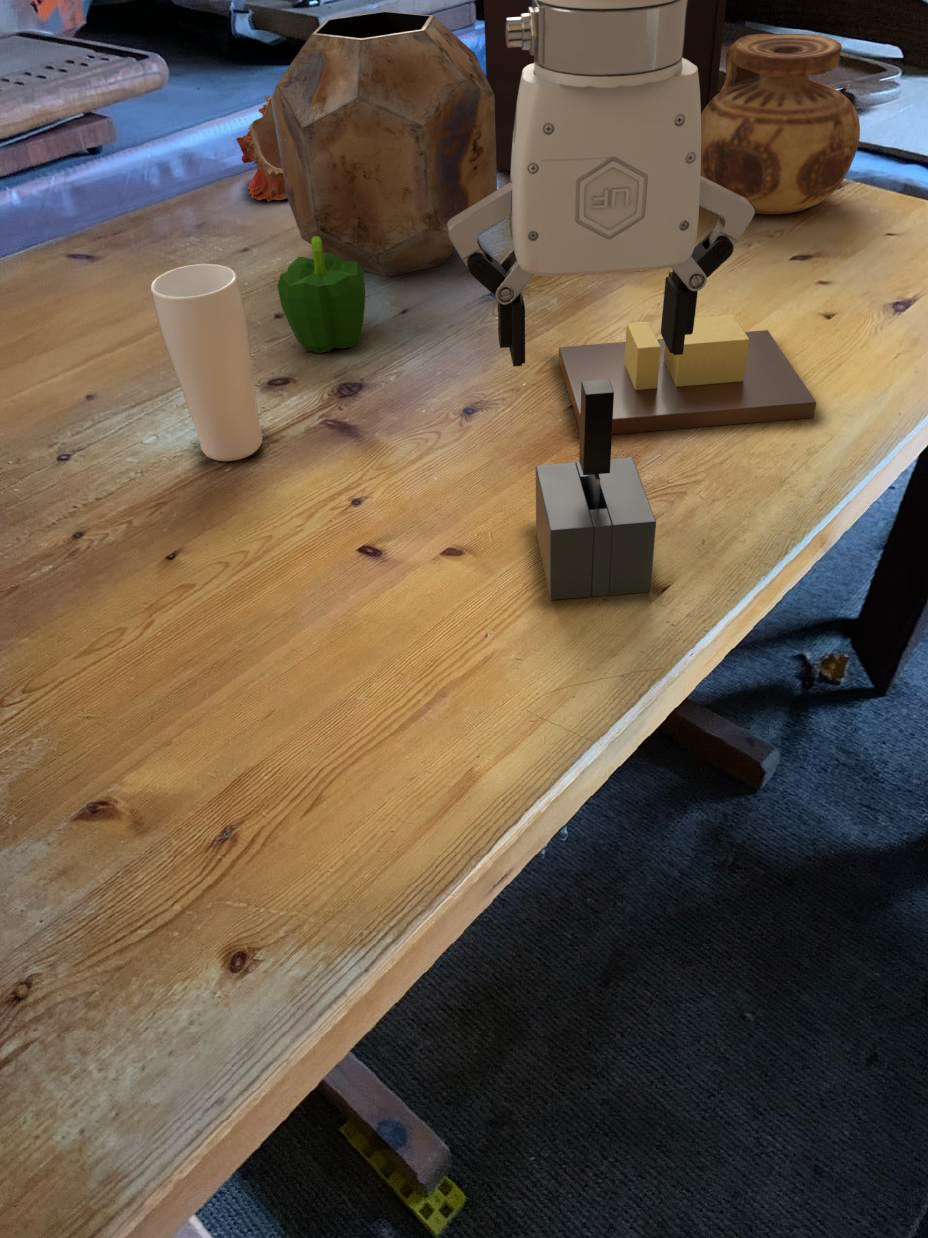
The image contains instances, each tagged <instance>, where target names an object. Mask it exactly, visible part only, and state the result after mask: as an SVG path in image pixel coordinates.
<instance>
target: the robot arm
mask: <svg viewBox="0 0 928 1238" xmlns="http://www.w3.org/2000/svg"><path fill="white" fill-rule="evenodd" d="M687 2H688V0H532V7H528V13H525V14H521V15H520V17H509V18H506V45H507V48H515V47H521V49H522V50H528V51H529V53H530V55H533V56H534V58H535V59H534V63H533V64H529V65H527V66H526V67H525V68H524V69H523V71H522V76H521V81H520V86H519V92H518V98H517V104H516V113H515V122H514V131H513V141H512V156H511V172H510V176H509V177H510V178H509V181H510V182H508V183H507V184H505V185H504V186H502V187H499V188H498V189H497V191H495V192H494V193H492V194H490V195H489V196H487V197H485V198H484V199H482V200H480V201H479V202H477V203H476V204H474V205H472V206H471V207H469V208H467V209H466V210H464V211H462V212H461V213H459V214H458V215H456V216H454V217H453V218H451V219H450V220H449V221H448V223H447V229H448V235H449V238H450V240H451V242H452V243H453V245H454V247H455V248H456V250H455V251H456V252H457V253H458V255H459V257H460V259H461V260H462V261H463V263H464V265H465V267H466V268H467V271H468V273H469V275H471V276H472V277H473V278H474V279H475V280H476V281H477V282H478V283H479V284H481V285H482V286H483V287H484V288H485V289H486V290H488V291H489V293H491V294H492V295H493V296H494V297H495V299H496V301H497V335H498V344H499V348H500V349H509V353H510V357H511V362H512V366H513V368H514V367H515V368H516V367H523V365H524V364H526V305H525V301H524V297H523V293H522V291H523V290H524V289H525V287H527V286H528V284H530V281H531V280H532V279H533V278H534V277H535V276H537V277H544V278H551V277H553V278H555V277H556V278H557V277H573V276H574V277H575V276H589V275H590V276H591V275H602V274H603V275H605V274H618V273H630V272H632V273H633V272H642V271H643V272H644V271H656V270H664V269H668V268H671V270H672V271H668V276H666V277H665V281H664V291H663V302H662V305H663V306H662V311H661V312H662V313H661V322H660V323H661V324H660V335H661V337H662V339H664V341H665V344H666V346H667V348H668V350H669V352H670V353H673V355H682V354H683V350H684V341H685V335H689V334H692V333H693V328H694V320H695V318H696V310H697V301H698V293H699V291H701V290H702V289H703V288H704V287H706V284H707V282H708V278H709V277H710V276H711V275H712V274H713V273H714V272H715V271H716V270H717V269H719V267H721V266H722V265H723V264H724V263H725V262H726V261H727V260H728V259H729V258H731V256H732V254H733V252H734V246H735V245H736V243H737V242H738V241H739V240H740V239H741V238H742V236H743V234H744V232H745V231H746V229H747V228H748V226H749V224H750V223H751V221H752V220H753V219H754V216H755V214H756V213H755V210H754V207H753V206H752V205H751V204H750V202H749V201H748V200H747V199H746V198H744V197H742V196H740V195H738V194H736V193H734V192H732V191H730V190H728V189H726V188H724V187H722V186H720V185H718V184H716V183H714V182H712V181H710V180H708V179H706V178H704V177H702V176H700V172H701V104H700V87H699V76H698V68H697V66H695V65H694V64H692V63H691V62H690V61H688V60H686V59H684V58H682V56H683V46H684V35H685V24H686V13H687ZM700 207H701V208H703V209H705V210H707V211H709V212H711V213H713V214H715V215H716V216H719V217H718V220H717V222H716V224H715V227H714V229H713V230H712V231H710V232H709V233H708V234H707V235H706V236H705V237H704V238H703V239H702V240H700V241H699V242H698V243H697V244H696V242H697V237H698V229H699V228H698V227H699V215H700ZM508 218H509V219H508ZM506 219H508V220H509V231H510V232H509V233H510V237H511V240H512V245H511V247H510V248H509V250H507V252H506V253H505V255H504V256H503V257H502V258H501V260H500V261H498V260H497V259H495V257H494V256H492V255H491V254H490V253H489V252H488V251H487V250H486V249H484V247H483V246H482V244H481V242H480V241H479V237H480V236H481V235H482V234H483V233H484V232H486V231H489V229H490V230H491V229H492V228H493V227H495V226H497V225H498V224H500V223H502V222H503V221H505V220H506Z"/></svg>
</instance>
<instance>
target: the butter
mask: <svg viewBox="0 0 928 1238" xmlns="http://www.w3.org/2000/svg"><path fill="white" fill-rule="evenodd" d="M745 332H746V331H745V330H744V328H743V326H741V324H740V322H739V321H738V319H737V317H736V316H735V315H734V314H724V315H723V314H722V315H711V316H700V317H695V320H694V328H693V333H692V334H689V335H685V341H684V350H683V354H682V355H673V353H670V352H669V350H668V348H667V346H666V344H665V351H664V362H665V365H666V367H667V369H668V371H669V373H670V375H671V377H672V379H673V381H674V384H675V386H676V387H680V386H693V385H705V384H717V383H729V382H741V381H743V380H744V373H745V366H746V359H747V352H748V345H749V338H748V337H747V335H746V333H745Z"/></svg>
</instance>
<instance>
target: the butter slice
mask: <svg viewBox="0 0 928 1238" xmlns="http://www.w3.org/2000/svg"><path fill="white" fill-rule="evenodd" d="M625 329H626V331H625V342H626V347H625V366H626V369H627V371H628V373H629V376H630V378H631V381H632V383H633V386H634V388H635V390H644V389H656V388H657V387H658V376H659V363H660V351H661V346H660V344H659V342H658V340H657V339H658V338H657V335H656V333H655V331H654V330H653V327H652V325H651V323H650V321H639V322H637V321H636V322H628V323H626V328H625Z"/></svg>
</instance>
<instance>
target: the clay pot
mask: <svg viewBox="0 0 928 1238" xmlns="http://www.w3.org/2000/svg"><path fill="white" fill-rule="evenodd" d="M841 52H842V43H840V41H837V40H836V39H834V38H829V37H827V36H822V35H816V34H804V33H772V34H771V33H755V34H747V35H743V36H741V37H740V38H738V39H736V40H735V41H734V42H733V43H732V44H731V45H730V46H729V48H728V49H727V52H726V54H725V80H724V82H723V86H722V87H721V89H720V91H719V92H717V95H716V96H715V97H714V98H713V99H712V100H711V101H710V102H709V103H708V104H707V106H706V107H705V108H704V110H703V112H702V114H701V172H700V176H702V177H704V178H706V179H708V180H710V181H712V182H714V183H716V184H718V185H720V186H722V187H724V188H726V189H728V190H730V191H732V192H734V193H736V194H738V195H740V196H742V197H744V198H746V199H747V200H748V201H749V202H750V204H751V205H752V206H753V207H754V210H755V214H762V215H783V214H791V213H792V214H793V213H797V212H802V211H805V210H807V209H810V208H813V206H816V205H818V204H820V203H821V202H823V201H824V200H826V199H828V198H829V197H830V196H831V195H833V193H835V191H837V189H838V188H840V186H841V184H842V182H844V179H845V177H846V176H847V174H848V172H849V170H850V168H851V166H852V164H853V162H854V159H855V157H856V154H857V150H858V147H859V143H860V138H861V125H860V116H859V114H858V111H857V109H856V107H855V106H854V104H853V103H852V102H851V100H850V99H849V98H848V97H847V96H846V95H845V94H843V93H842V92H841V91H839V90H837V89H836V88H833V87H832V86H830V85H828V84H825V83H822V82H818V81H816V80H812V79H810V77H809V76H816V75H824V74H825V73H828V72H832V71H833V70H834V69H835V68H836V67H837V66H838V65H839V63H840V57H841Z"/></svg>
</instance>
